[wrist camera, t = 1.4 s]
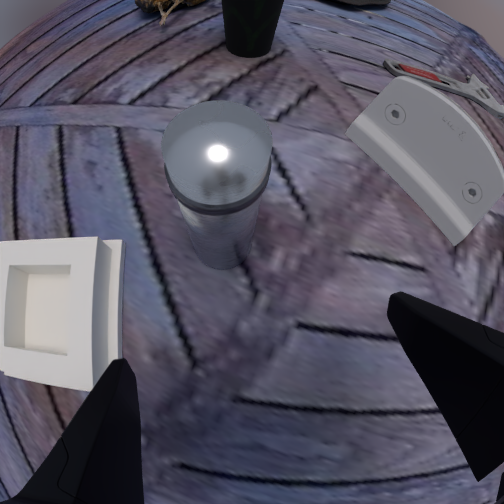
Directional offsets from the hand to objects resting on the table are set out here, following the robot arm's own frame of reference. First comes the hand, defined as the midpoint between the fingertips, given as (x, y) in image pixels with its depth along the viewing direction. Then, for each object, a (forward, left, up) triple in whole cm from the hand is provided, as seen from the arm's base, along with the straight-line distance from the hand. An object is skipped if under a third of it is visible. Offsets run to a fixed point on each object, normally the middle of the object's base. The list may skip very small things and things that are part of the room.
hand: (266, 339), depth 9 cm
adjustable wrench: (+33, -33, -14) cm, 49 cm away
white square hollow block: (+2, +16, -14) cm, 21 cm away
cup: (+34, -1, -14) cm, 37 cm away
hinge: (+16, -19, -14) cm, 28 cm away
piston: (+8, +2, -14) cm, 16 cm away
